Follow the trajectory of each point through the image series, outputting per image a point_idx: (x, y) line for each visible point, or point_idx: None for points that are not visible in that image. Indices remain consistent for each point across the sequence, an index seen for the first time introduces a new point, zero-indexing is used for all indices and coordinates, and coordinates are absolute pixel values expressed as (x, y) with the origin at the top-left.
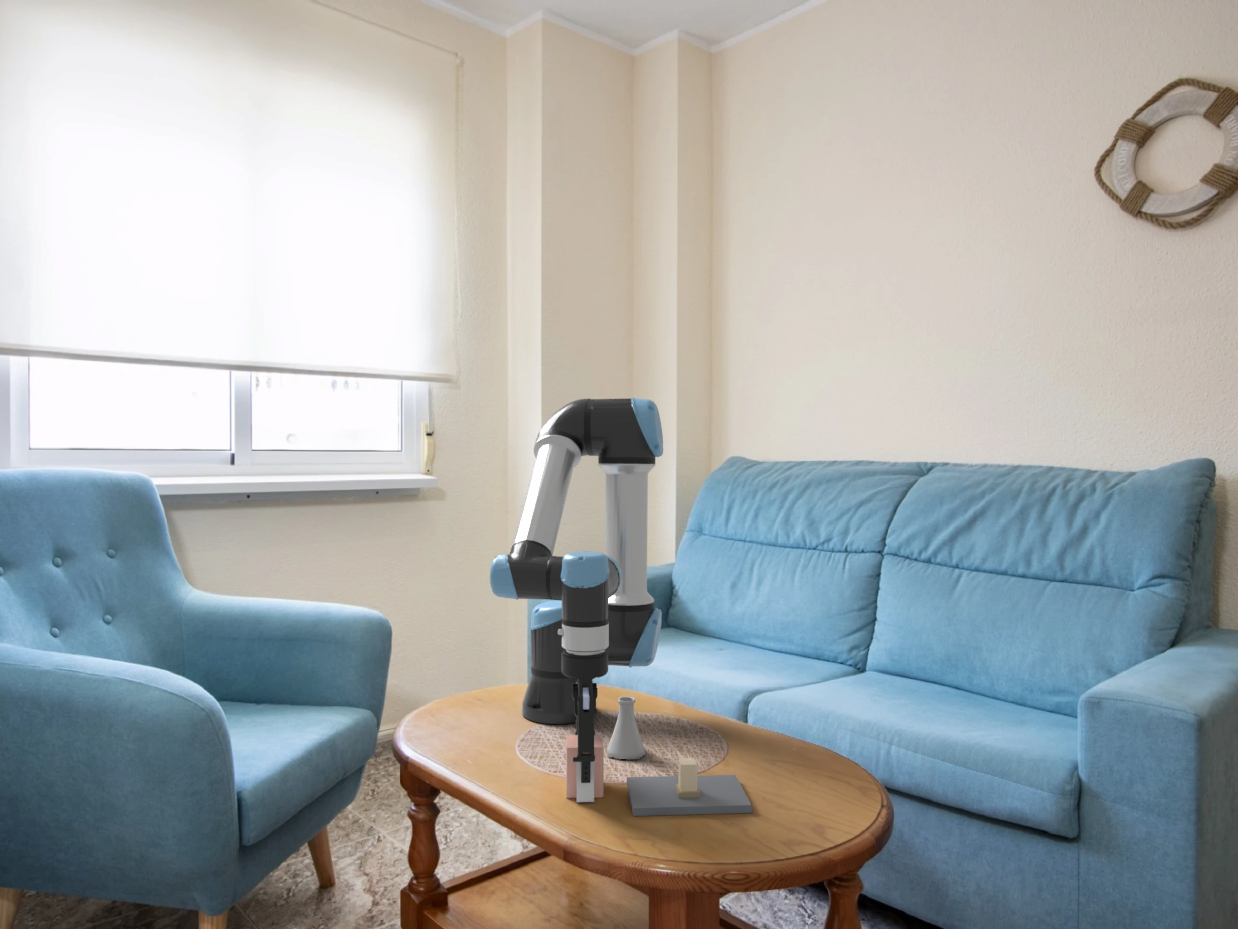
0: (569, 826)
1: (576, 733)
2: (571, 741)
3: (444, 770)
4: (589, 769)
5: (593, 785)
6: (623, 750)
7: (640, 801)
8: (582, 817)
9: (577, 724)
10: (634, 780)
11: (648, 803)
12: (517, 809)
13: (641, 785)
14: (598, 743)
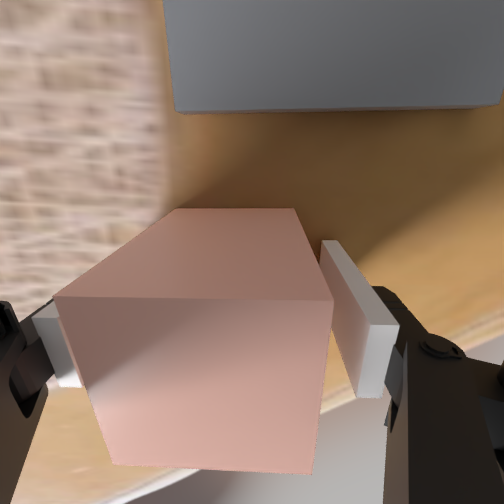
0: (472, 306)
1: (40, 410)
2: (210, 453)
3: (135, 497)
4: (419, 326)
5: (353, 264)
6: None
7: (444, 62)
8: (425, 273)
9: (10, 484)
10: (210, 75)
11: (478, 19)
12: (337, 402)
13: (267, 42)
14: (247, 328)
